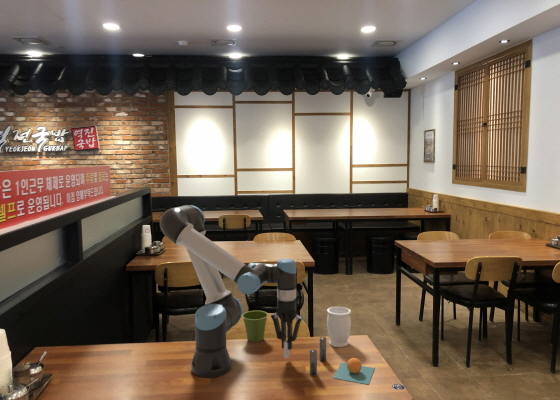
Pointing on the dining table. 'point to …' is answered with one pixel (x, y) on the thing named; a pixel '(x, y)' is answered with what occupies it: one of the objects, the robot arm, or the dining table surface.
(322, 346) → the post
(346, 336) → the jar
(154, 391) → the dining table surface
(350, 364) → the ball
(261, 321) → the plant pot
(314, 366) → the post
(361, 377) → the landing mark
